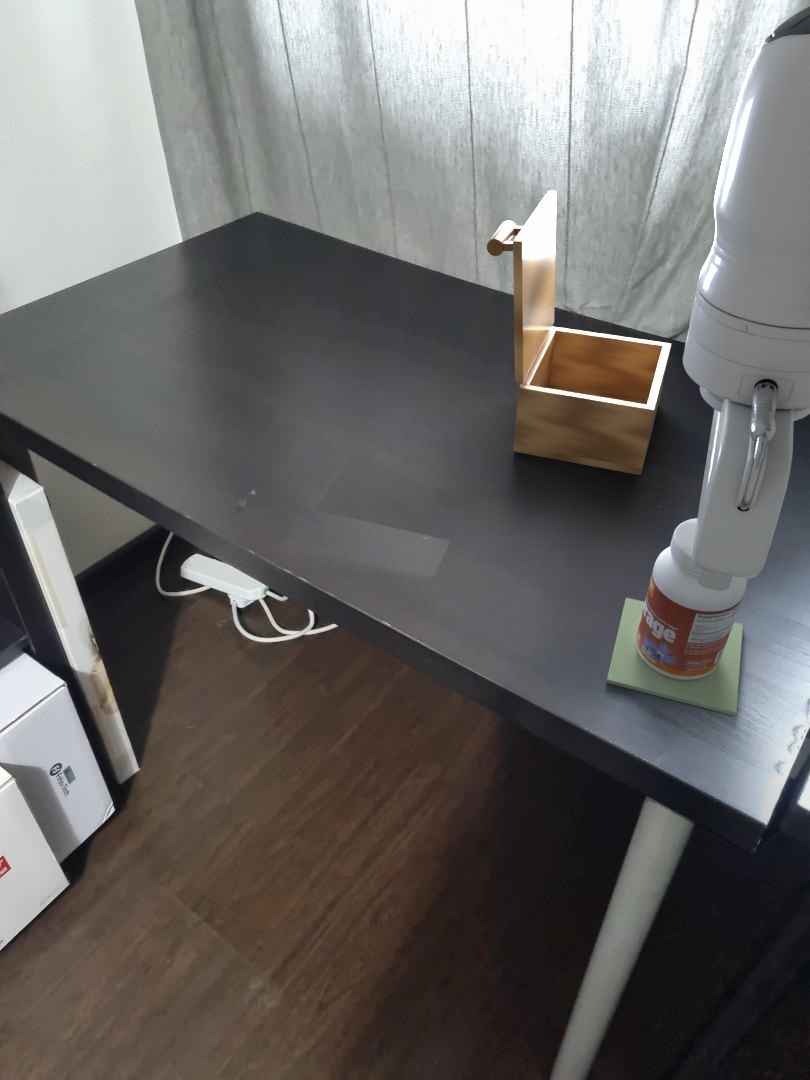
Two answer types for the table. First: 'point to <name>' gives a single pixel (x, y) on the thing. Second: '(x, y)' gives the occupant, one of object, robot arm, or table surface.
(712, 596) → the pill bottle
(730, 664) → the mat
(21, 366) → the table surface
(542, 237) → the chest lid
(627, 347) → the chest
